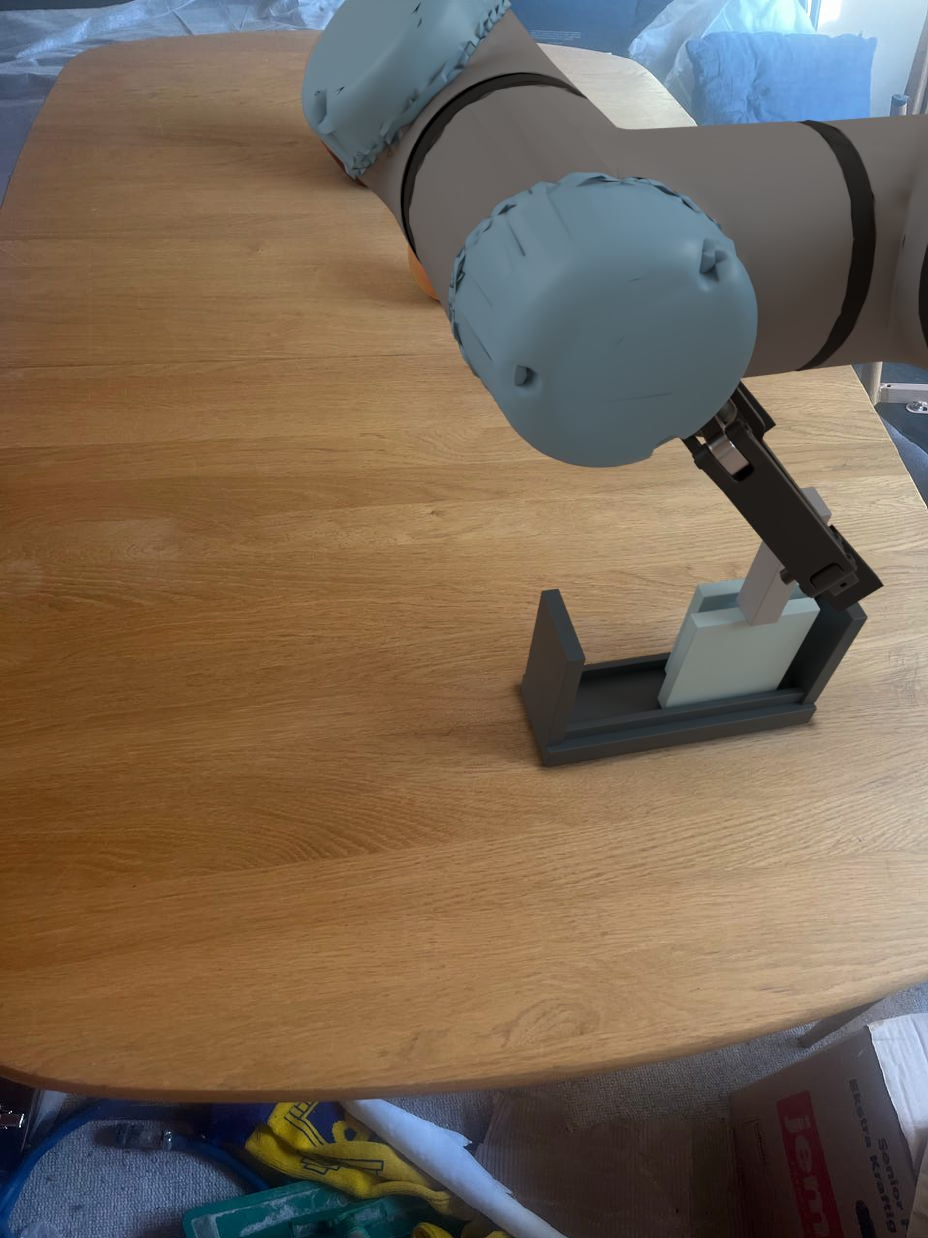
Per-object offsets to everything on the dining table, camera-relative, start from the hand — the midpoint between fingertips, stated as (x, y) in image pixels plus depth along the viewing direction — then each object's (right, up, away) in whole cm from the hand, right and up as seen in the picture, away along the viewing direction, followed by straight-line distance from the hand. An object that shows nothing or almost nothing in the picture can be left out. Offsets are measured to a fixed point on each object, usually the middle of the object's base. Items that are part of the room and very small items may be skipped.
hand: (803, 509), depth 56 cm
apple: (-22, +29, +51) cm, 63 cm away
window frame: (-5, -13, +17) cm, 22 cm away
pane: (-1, -12, +15) cm, 19 cm away
